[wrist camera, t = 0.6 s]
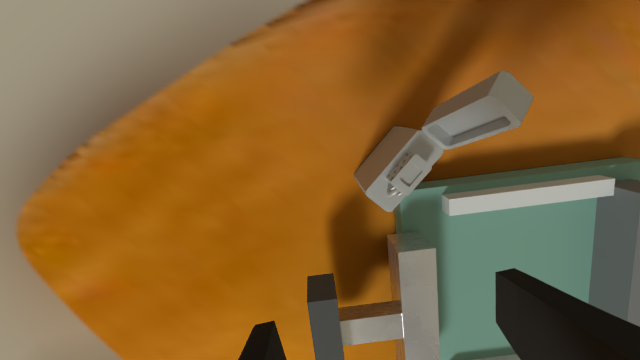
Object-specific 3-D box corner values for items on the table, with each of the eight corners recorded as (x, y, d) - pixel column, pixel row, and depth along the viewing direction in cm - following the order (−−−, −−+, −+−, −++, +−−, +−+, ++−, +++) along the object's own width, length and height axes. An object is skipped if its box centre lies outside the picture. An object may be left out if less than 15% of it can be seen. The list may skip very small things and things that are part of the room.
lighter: (372, 192, 20) (413, 245, 12) (352, 175, 20) (380, 219, 12) (448, 103, 19) (548, 98, 11) (428, 85, 18) (515, 66, 11)
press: (605, 342, 23) (666, 389, 19) (405, 367, 23) (425, 421, 19) (624, 156, 20) (701, 168, 16) (392, 185, 20) (413, 204, 16)
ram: (426, 356, 21) (449, 405, 17) (322, 369, 21) (324, 421, 17) (419, 230, 19) (444, 257, 15) (304, 245, 19) (303, 275, 15)
